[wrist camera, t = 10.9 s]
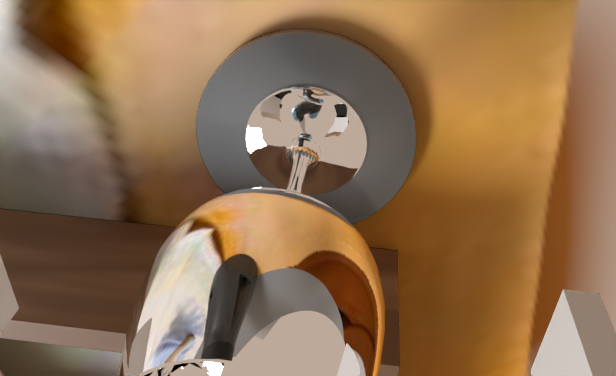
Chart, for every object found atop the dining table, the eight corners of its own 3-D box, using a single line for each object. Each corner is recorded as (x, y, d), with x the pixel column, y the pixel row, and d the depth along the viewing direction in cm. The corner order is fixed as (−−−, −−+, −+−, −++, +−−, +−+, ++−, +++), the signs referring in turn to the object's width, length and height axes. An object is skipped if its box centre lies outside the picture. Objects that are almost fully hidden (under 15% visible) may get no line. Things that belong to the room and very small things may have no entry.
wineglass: (202, 90, 20) (24, 358, 10) (362, 47, 19) (333, 311, 9) (259, 220, 23) (162, 530, 13) (402, 191, 22) (414, 516, 12)
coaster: (193, 19, 20) (188, 25, 19) (431, 38, 19) (432, 44, 19) (206, 211, 24) (202, 220, 24) (400, 231, 23) (400, 240, 23)
